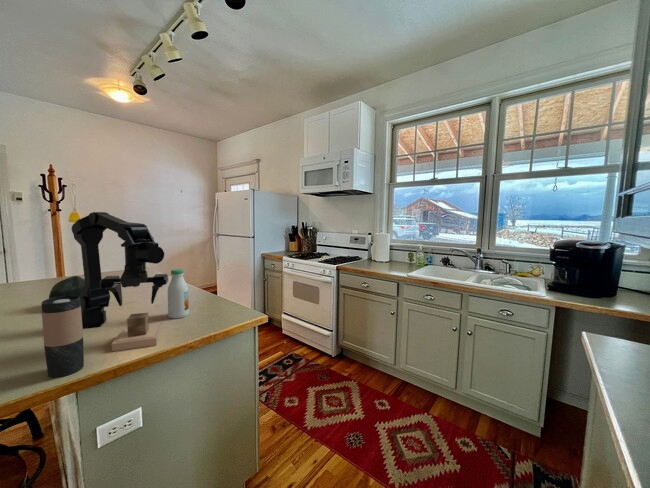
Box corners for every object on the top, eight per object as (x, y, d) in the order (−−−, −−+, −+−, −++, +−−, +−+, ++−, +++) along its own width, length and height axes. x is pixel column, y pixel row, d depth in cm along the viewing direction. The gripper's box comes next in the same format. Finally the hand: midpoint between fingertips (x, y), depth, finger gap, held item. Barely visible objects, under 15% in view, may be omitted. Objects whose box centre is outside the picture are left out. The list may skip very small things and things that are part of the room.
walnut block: (127, 336, 89) (127, 319, 88) (131, 330, 93) (131, 314, 93) (145, 334, 91) (145, 317, 90) (148, 328, 95) (148, 312, 95)
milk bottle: (179, 319, 111) (178, 272, 109) (163, 318, 112) (162, 270, 110) (192, 313, 118) (191, 268, 116) (177, 311, 120) (176, 267, 118)
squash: (51, 292, 125) (48, 272, 117) (93, 288, 135) (94, 269, 127) (49, 319, 118) (46, 299, 110) (94, 313, 128) (94, 294, 120)
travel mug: (92, 362, 78) (88, 295, 76) (68, 378, 70) (62, 304, 68) (65, 362, 78) (60, 295, 76) (37, 378, 70) (31, 303, 68)
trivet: (111, 351, 84) (111, 343, 84) (123, 335, 95) (122, 328, 95) (156, 345, 89) (156, 337, 89) (162, 330, 100) (162, 323, 100)
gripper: (91, 265, 81) (94, 315, 83) (163, 264, 89) (163, 310, 90) (105, 259, 92) (107, 304, 93) (168, 258, 99) (168, 299, 100)
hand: (136, 304), depth 94 cm, fingers open, 9 cm apart
